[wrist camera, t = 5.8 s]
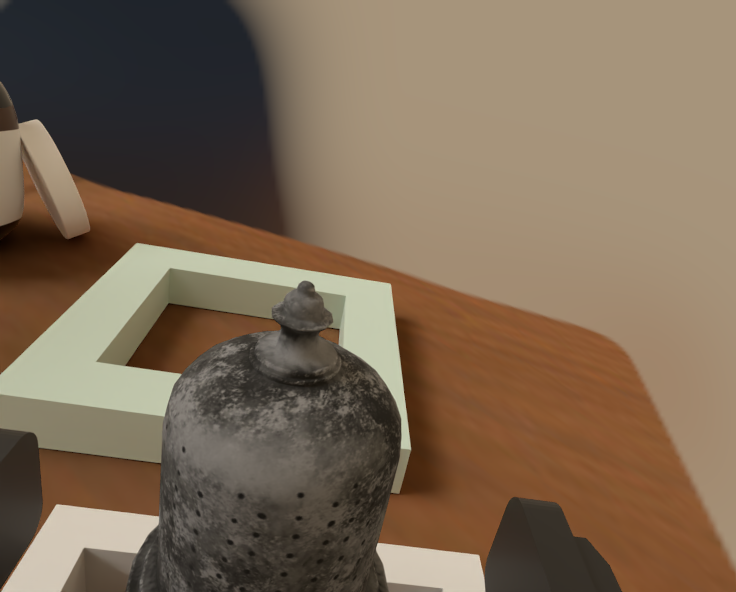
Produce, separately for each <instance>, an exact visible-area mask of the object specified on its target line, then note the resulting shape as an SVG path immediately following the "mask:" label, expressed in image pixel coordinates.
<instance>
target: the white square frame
mask: <svg viewBox="0 0 736 592" xmlns="http://www.w3.org/2000/svg"><path fill="white" fill-rule="evenodd" d="M158 524H159V517H158V516H150V515H141V514H133V513H125V512H117V511H108V510H100V509H92V508H83V507H75V506H67V505H58V504H57V505H56V506H55V508H54V510H53V511H52V513H51V514H50V516H49V517H48V519H47V521H46V522H45V524H44V525H43V527H42V528H41V530H40V532H39V533H38V535H37V536H36V538H35V539H34V541H33V543H32V544H31V546H30V547H29V549H28V550H27V552H26V554H25V555H24V557H23V558H22V560H21V561H20V563H19V565H18V566H17V568H16V569H15V571H14V572H13V574H12V576H11V577H10V579H9V580H8V582H7V583H6V585H5V587H4V588H3V590H2V591H1V592H125V590H126V586H127V582H128V578H129V574H130V570H131V566H132V562H133V560H134V558H135V556H136V555H137V553H138V551H139V550H140V548H141V546H142V544H143V543H144V541H145V539H146V538H147V536H148V534H149V533H150V532H151V531H152V530H153V529H154V528H155V527H156V526H157V525H158ZM376 551H377V553H378V555H379V557H380V559H381V561H382V563H383V566H384V571H385V576H386V581H387V586H388V590H389V592H485V580H484V576H483V571H482V567H481V562H480V558H479V555H474V554H466V553H457V552H449V551H441V550H433V549H424V548H416V547H408V546H399V545H391V544H383V543H377V547H376Z"/></svg>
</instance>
